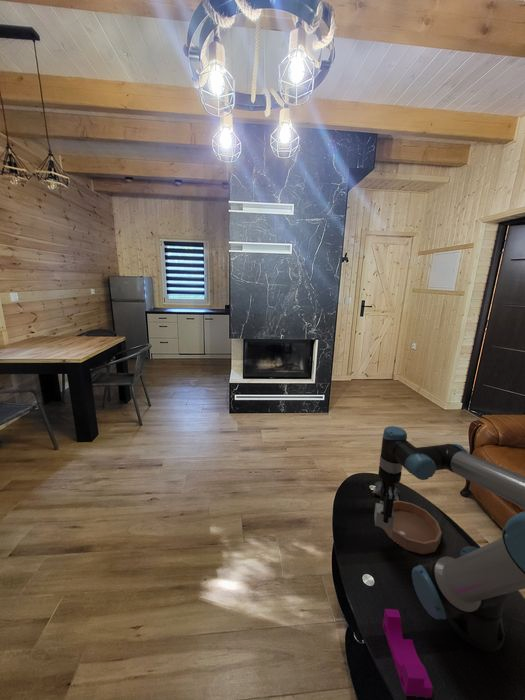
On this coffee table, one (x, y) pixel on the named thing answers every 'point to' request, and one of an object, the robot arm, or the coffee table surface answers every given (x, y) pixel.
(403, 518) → the bowl
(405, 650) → the toy block
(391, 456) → the robot arm
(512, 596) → the coffee table surface
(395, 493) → the packaged food
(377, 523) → the grey cube
